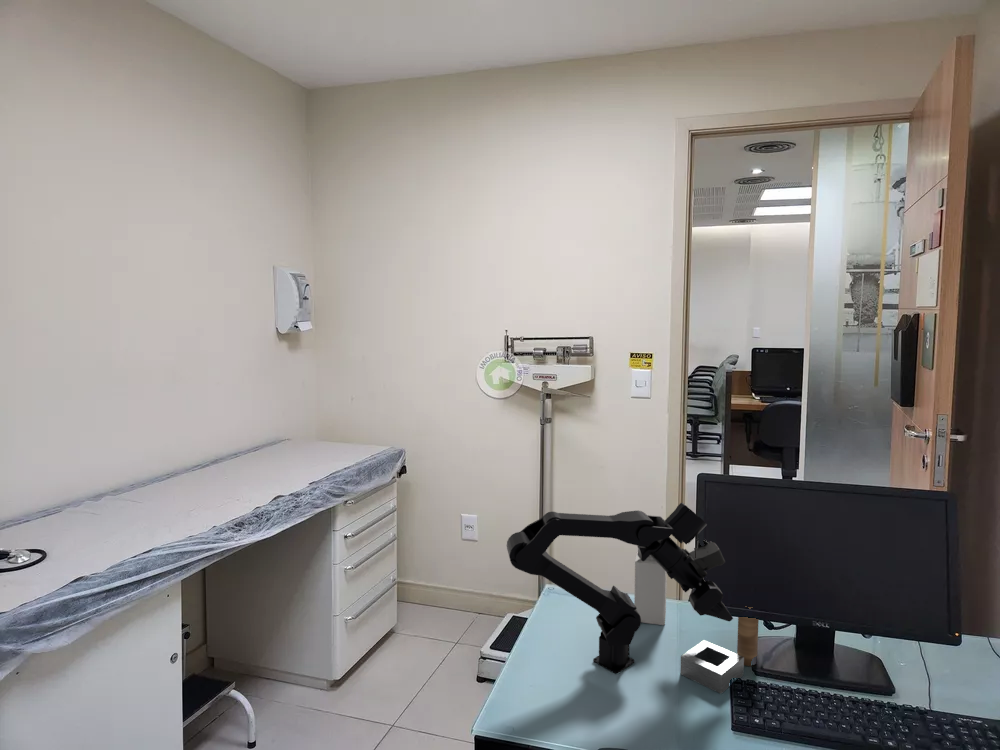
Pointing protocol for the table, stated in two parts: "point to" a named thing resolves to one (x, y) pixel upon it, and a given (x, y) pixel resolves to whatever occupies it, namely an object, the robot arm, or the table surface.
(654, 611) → the milk carton
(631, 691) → the table surface
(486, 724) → the table surface
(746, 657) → the peg
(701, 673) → the socket block
